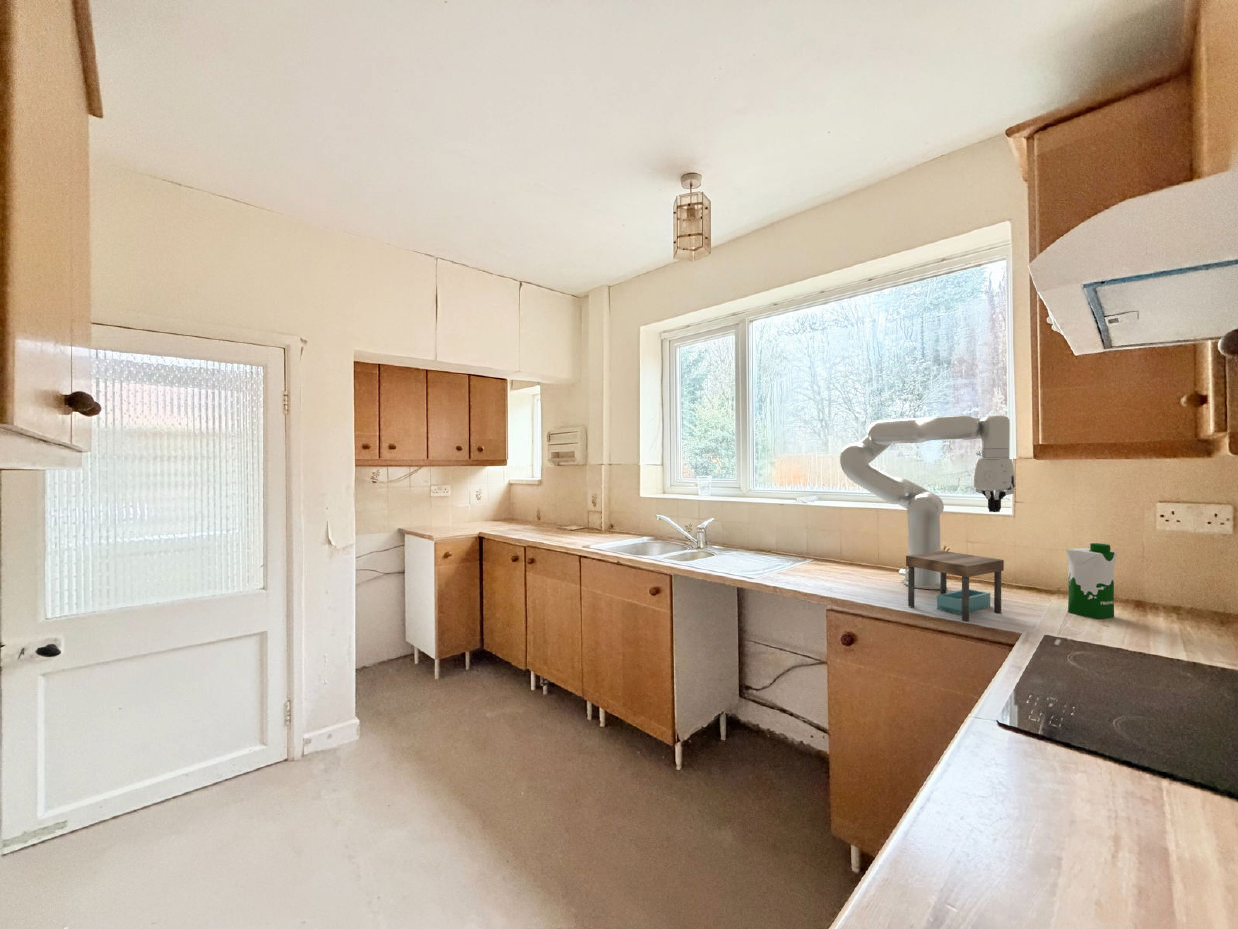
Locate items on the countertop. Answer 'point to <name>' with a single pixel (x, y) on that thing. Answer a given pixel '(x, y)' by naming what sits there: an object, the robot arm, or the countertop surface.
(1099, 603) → the milk carton
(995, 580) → the small wooden table
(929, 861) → the countertop surface
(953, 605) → the tray
